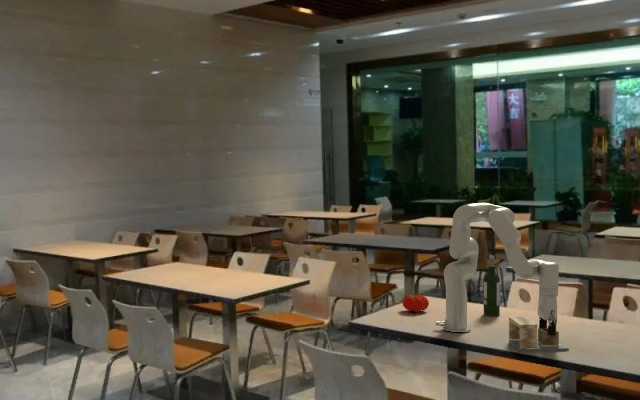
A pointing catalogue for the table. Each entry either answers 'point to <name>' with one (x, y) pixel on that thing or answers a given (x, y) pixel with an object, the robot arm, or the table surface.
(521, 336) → the tan wooden block
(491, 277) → the wine bottle
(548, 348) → the board
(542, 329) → the brown wooden cube
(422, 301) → the tomato
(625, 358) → the table surface
